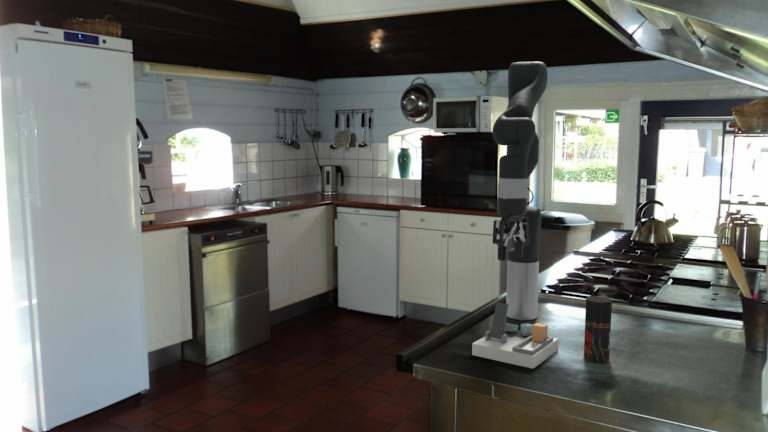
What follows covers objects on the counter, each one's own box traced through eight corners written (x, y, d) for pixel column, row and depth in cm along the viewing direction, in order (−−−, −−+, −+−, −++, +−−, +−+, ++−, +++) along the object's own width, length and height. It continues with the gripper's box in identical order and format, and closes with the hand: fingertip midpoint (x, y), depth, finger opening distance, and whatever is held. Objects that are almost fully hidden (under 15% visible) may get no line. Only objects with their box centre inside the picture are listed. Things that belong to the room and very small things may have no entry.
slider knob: (535, 338, 161) (536, 322, 160) (547, 340, 159) (547, 324, 159) (532, 340, 159) (532, 325, 159) (543, 342, 157) (544, 327, 157)
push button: (523, 331, 166) (523, 322, 166) (535, 333, 164) (535, 324, 164) (518, 334, 163) (518, 325, 163) (530, 337, 162) (530, 327, 161)
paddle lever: (491, 337, 161) (498, 302, 162) (502, 340, 159) (508, 304, 161) (490, 337, 160) (496, 302, 162) (501, 339, 158) (507, 303, 160)
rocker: (507, 329, 168) (507, 323, 168) (517, 331, 166) (518, 325, 166) (500, 329, 165) (501, 323, 165) (511, 331, 163) (512, 325, 163)
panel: (500, 338, 171) (500, 320, 170) (558, 350, 162) (558, 331, 161) (472, 355, 158) (472, 335, 158) (533, 368, 149) (533, 348, 148)
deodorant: (610, 364, 152) (613, 303, 150) (585, 362, 153) (587, 301, 151) (607, 356, 158) (610, 296, 156) (582, 354, 159) (584, 295, 157)
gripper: (513, 194, 171) (511, 253, 173) (484, 196, 161) (483, 260, 162) (538, 195, 166) (536, 256, 168) (511, 198, 156) (509, 263, 157)
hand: (510, 258), depth 165 cm, fingers open, 8 cm apart
